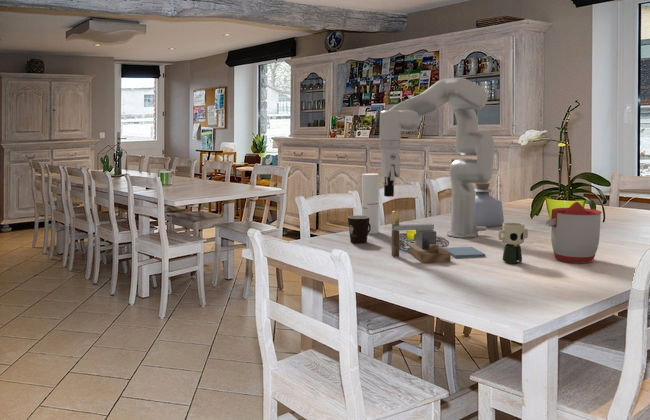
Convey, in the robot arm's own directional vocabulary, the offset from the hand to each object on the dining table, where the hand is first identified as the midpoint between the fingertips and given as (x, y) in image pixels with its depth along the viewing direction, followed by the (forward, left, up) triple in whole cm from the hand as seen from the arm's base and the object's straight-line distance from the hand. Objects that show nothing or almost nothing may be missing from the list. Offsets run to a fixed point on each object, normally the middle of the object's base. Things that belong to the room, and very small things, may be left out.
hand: (388, 196), depth 222 cm
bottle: (-56, -52, -21) cm, 80 cm away
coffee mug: (+8, -17, -21) cm, 28 cm away
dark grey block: (-11, +9, -17) cm, 22 cm away
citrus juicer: (-57, +25, -21) cm, 66 cm away
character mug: (-36, +25, -21) cm, 49 cm away
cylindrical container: (-1, -39, -21) cm, 44 cm away
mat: (-25, +9, -20) cm, 34 cm away
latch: (-6, +9, -11) cm, 15 cm away
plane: (-8, +9, -20) cm, 23 cm away
